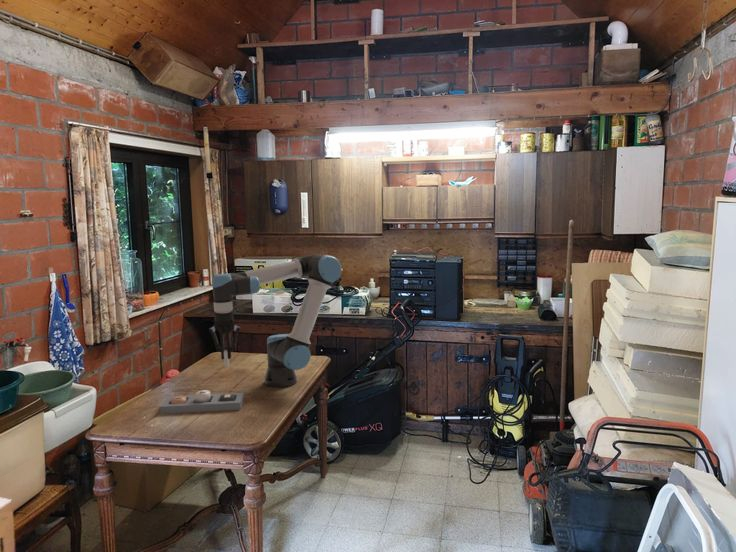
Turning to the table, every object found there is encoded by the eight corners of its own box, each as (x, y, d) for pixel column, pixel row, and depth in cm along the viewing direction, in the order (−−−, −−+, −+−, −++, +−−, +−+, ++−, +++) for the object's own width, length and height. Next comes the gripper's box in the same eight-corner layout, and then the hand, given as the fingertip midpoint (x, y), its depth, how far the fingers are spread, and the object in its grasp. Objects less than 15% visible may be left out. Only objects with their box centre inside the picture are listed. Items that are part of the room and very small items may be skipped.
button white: (211, 397, 229) (211, 389, 229) (209, 402, 223) (208, 394, 223) (197, 398, 228) (197, 390, 228) (194, 403, 223) (194, 395, 222)
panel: (243, 399, 234) (243, 392, 233) (240, 409, 222) (240, 402, 222) (168, 403, 230) (167, 396, 230) (160, 413, 218) (160, 406, 218)
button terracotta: (188, 403, 228) (187, 395, 228) (184, 408, 222) (184, 400, 222) (173, 404, 228) (173, 396, 227) (169, 409, 222) (169, 401, 221)
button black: (235, 400, 230) (235, 392, 230) (234, 406, 225) (233, 397, 224) (221, 401, 230) (221, 393, 229) (219, 406, 224) (219, 398, 223)
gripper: (240, 308, 227) (243, 362, 230) (209, 310, 225) (212, 364, 229) (238, 312, 220) (241, 368, 223) (205, 314, 218) (209, 369, 221)
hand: (226, 366), depth 226 cm, fingers closed
